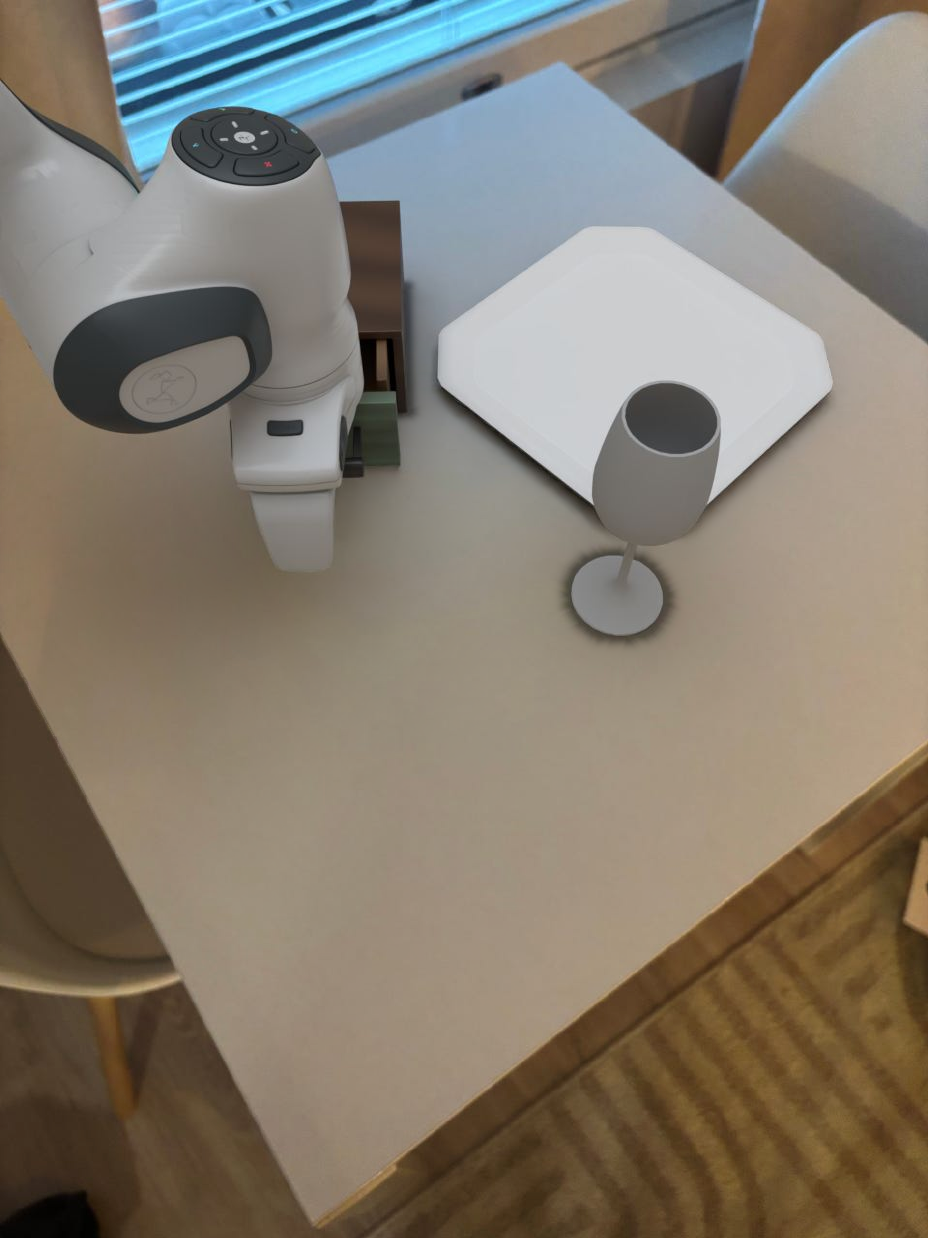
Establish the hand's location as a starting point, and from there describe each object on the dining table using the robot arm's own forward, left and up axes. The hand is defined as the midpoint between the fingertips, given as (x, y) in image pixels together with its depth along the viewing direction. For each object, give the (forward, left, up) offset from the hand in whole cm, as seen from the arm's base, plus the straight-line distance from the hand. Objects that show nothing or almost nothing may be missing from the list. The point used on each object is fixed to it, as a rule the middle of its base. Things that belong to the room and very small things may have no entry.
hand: (319, 496), depth 72 cm
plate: (+27, +16, -5) cm, 32 cm away
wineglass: (+23, -7, -5) cm, 24 cm away
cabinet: (0, +20, -5) cm, 21 cm away
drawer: (0, +11, -4) cm, 12 cm away
